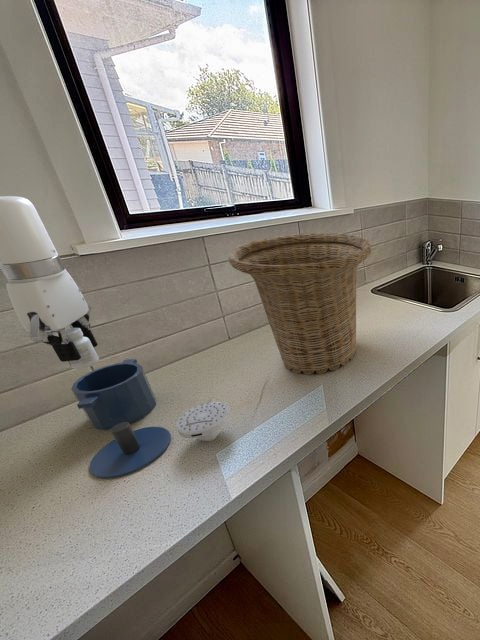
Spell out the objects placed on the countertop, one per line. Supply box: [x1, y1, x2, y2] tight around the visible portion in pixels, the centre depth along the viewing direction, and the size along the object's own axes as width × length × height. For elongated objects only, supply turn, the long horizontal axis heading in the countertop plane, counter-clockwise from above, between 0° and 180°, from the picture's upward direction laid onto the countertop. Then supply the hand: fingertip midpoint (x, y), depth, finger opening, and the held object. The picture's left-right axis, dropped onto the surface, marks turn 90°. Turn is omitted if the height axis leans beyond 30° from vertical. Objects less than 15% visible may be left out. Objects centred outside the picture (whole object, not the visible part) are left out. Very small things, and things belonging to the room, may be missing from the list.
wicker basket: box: [227, 232, 372, 376], centre depth 94 cm, size 35×35×33 cm
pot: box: [71, 358, 157, 431], centre depth 76 cm, size 12×17×10 cm
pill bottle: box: [56, 327, 100, 370], centre depth 69 cm, size 4×4×8 cm
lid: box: [89, 422, 172, 479], centre depth 66 cm, size 13×13×7 cm
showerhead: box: [175, 397, 232, 442], centre depth 70 cm, size 9×7×10 cm
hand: (80, 352), depth 69 cm, fingers closed on pill bottle, 4 cm apart
